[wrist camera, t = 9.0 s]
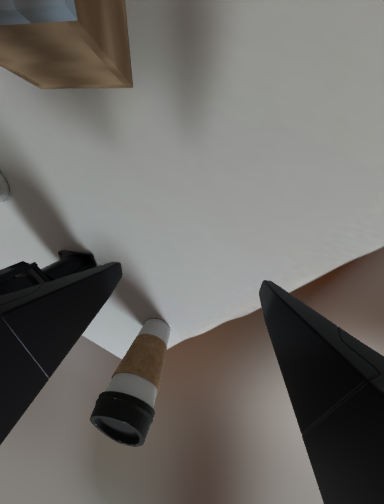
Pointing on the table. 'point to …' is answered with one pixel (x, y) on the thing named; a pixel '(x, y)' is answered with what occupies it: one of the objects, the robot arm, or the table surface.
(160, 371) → the coffee cup
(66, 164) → the table surface
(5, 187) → the beer glass
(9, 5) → the box
